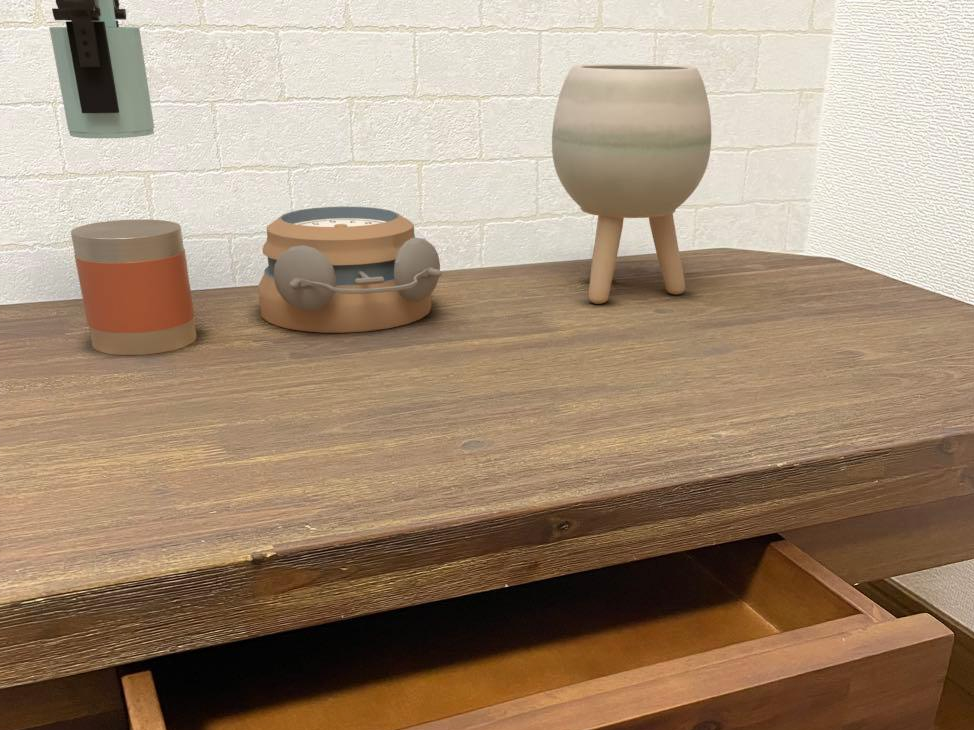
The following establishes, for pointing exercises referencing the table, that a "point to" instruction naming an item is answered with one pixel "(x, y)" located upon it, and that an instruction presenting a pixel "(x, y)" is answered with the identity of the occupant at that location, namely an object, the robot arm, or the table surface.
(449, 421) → the table surface
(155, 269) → the tin can
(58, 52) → the bottle
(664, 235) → the planter
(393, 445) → the table surface
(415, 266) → the alarm clock
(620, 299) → the table surface
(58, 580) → the table surface
